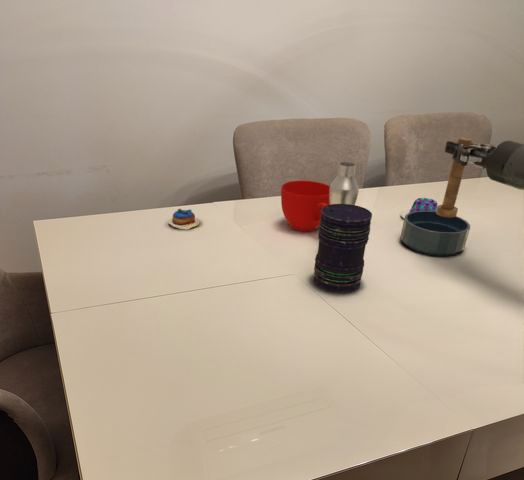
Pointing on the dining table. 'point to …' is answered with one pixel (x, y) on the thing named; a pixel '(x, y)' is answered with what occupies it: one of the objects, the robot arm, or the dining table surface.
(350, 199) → the silver bottle
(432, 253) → the bowl
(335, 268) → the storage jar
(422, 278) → the dining table surface
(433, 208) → the purple patterned hat
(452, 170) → the stirring stick
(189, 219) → the dessert
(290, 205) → the ceramic cup
